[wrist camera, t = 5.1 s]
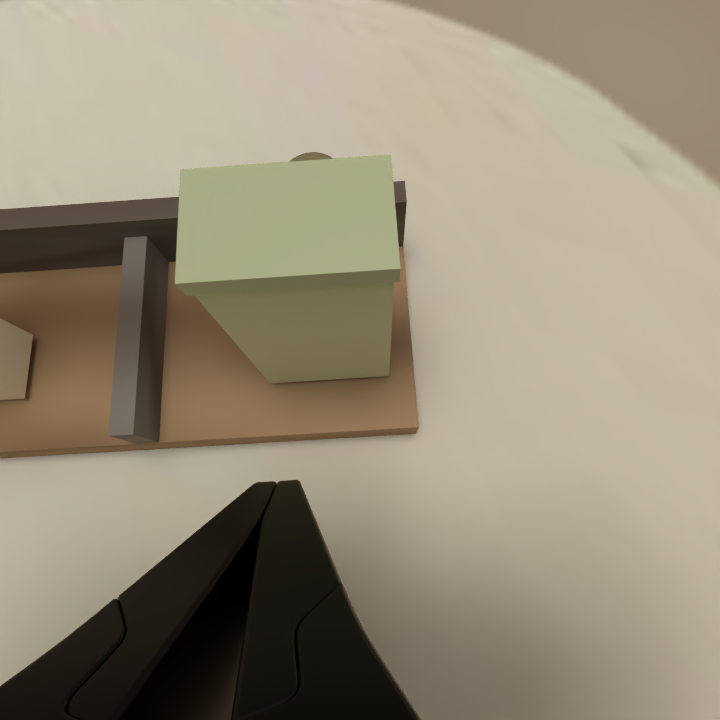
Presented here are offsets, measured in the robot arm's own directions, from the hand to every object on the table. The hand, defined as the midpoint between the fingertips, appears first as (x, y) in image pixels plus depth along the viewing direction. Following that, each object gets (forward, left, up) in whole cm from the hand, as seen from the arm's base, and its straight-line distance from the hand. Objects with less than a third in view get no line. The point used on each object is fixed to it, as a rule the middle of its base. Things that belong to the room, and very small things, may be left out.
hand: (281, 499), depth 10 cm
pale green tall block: (+5, 0, -8) cm, 10 cm away
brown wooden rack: (+7, +6, -10) cm, 13 cm away
